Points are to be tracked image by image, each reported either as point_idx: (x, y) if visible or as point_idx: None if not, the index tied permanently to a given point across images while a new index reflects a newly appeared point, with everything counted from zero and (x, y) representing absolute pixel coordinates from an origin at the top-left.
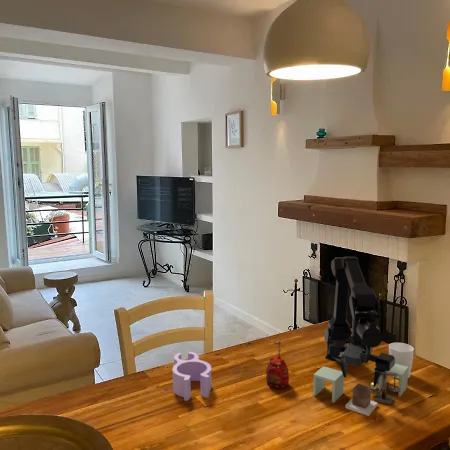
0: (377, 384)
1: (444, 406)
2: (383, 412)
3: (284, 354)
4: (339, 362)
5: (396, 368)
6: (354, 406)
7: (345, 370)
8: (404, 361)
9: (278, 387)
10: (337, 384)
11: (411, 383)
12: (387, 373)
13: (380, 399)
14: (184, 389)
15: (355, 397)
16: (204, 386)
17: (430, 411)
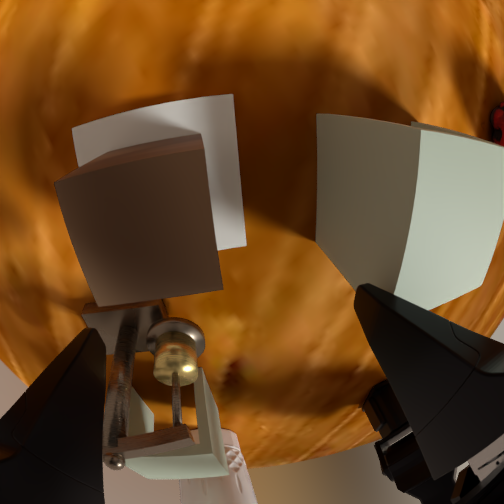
0: (158, 376)
1: (25, 383)
2: (57, 225)
3: (489, 301)
4: (497, 347)
5: (164, 470)
6: (175, 121)
7: (392, 334)
8: (188, 483)
9: (501, 104)
10: (375, 181)
11: (155, 428)
12: None
13: (124, 307)
14: None
15: (174, 142)
16: None
17: (11, 346)
